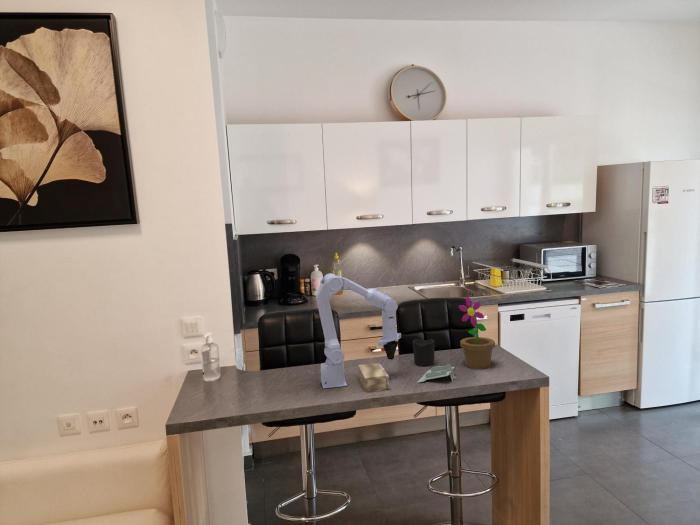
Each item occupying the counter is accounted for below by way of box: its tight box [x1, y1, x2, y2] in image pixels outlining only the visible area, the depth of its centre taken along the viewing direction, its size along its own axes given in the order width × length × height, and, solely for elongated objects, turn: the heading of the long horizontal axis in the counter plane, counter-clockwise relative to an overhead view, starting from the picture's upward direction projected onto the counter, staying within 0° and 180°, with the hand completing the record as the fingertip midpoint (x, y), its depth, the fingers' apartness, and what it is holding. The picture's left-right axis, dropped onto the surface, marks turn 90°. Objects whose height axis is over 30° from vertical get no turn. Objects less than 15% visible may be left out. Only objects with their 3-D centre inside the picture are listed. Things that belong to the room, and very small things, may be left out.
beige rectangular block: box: [357, 362, 391, 393], centre depth 191 cm, size 10×16×6 cm, turn 9°
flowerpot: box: [458, 296, 496, 369], centre depth 205 cm, size 14×14×30 cm
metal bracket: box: [416, 363, 457, 384], centre depth 193 cm, size 14×6×15 cm
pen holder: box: [412, 338, 435, 367], centre depth 212 cm, size 9×9×10 cm
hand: (390, 359), depth 198 cm, fingers closed
